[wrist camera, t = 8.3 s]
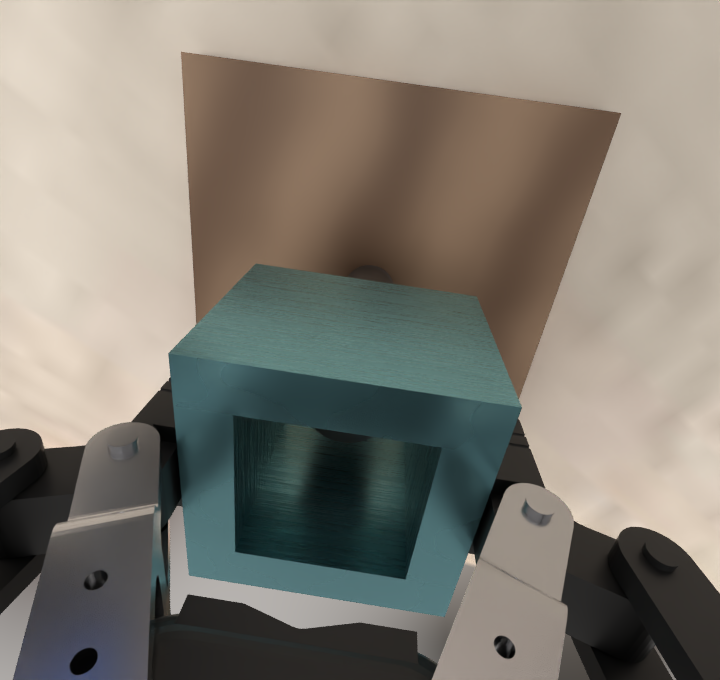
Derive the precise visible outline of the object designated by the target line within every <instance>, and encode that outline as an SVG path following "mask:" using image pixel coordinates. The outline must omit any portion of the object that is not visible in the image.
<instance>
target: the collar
mask: <svg viewBox="0 0 720 680" xmlns="http://www.w3.org/2000/svg"><path fill="white" fill-rule="evenodd" d="M168 354H169V365H170V376H171V386H172V397H173V408H174V419H175V430H176V440H177V451H178V462H179V473H180V483H181V494H182V505H183V516H184V526H185V536H186V548H187V559H188V569H189V575H190V576H196V577H203V578H209V579H215V580H221V581H227V582H233V583H240V584H246V585H251V586H258V587H264V588H271V589H277V590H282V591H289V592H295V593H301V594H307V595H314V596H320V597H326V598H332V599H338V600H344V601H350V602H356V603H363V604H370V605H375V606H381V607H388V608H394V609H400V610H406V611H412V612H418V613H424V614H430V615H437V616H443V617H445V614H446V612H447V609H448V606H449V603H450V601H451V598H452V595H453V593H454V590H455V587H456V584H457V582H458V579H459V576H460V574H461V571H462V568H463V566H464V563H465V560H466V558H467V555H468V552H469V549H470V547H471V544H472V541H473V539H474V536H475V533H476V530H477V528H478V525H479V522H480V520H481V517H482V514H483V512H484V509H485V506H486V503H487V501H488V498H489V495H490V493H491V490H492V487H493V484H494V482H495V479H496V476H497V474H498V471H499V468H500V465H501V463H502V460H503V457H504V455H505V452H506V449H507V447H508V444H509V441H510V438H511V436H512V433H513V430H514V428H515V425H516V422H517V419H518V417H519V414H520V411H521V409H522V407H521V404H520V402H519V399H518V397H517V394H516V392H515V389H514V387H513V384H512V382H511V380H510V377H509V375H508V372H507V370H506V367H505V365H504V362H503V360H502V357H501V355H500V352H499V350H498V347H497V345H496V343H495V340H494V338H493V335H492V333H491V330H490V328H489V325H488V323H487V320H486V318H485V315H484V313H483V311H482V308H481V306H480V303H479V301H478V298H477V296H472V295H465V294H458V293H452V292H445V291H438V290H431V289H425V288H418V287H411V286H405V285H398V284H391V283H384V282H378V281H371V280H364V279H357V278H351V277H344V276H337V275H331V274H324V273H317V272H310V271H304V270H297V269H290V268H284V267H277V266H270V265H263V264H257V263H256V264H255V265H254V266H253V267H252V268H251V269H250V270H249V271H248V272H247V273H246V274H245V275H244V276H243V277H242V278H241V279H240V280H239V281H238V282H237V283H236V284H235V285H234V286H233V287H232V289H231V290H230V291H229V292H228V293H227V294H226V295H225V296H224V297H223V298H222V299H221V300H220V301H219V302H218V303H217V304H216V305H215V306H214V307H213V308H212V309H211V310H210V311H209V312H208V313H207V314H206V315H205V316H204V317H203V318H202V319H201V320H200V321H199V323H198V324H197V325H196V326H195V327H194V328H193V329H192V330H191V331H190V332H189V333H188V334H187V335H186V336H185V337H184V338H183V339H182V340H181V341H180V342H179V343H178V344H177V345H176V346H175V347H174V348H173V349H172V350H171V351H170V352H169V353H168ZM314 428H319V429H325V430H332V431H338V432H345V433H351V434H357V435H364V436H370V437H372V438H370V439H368V440H365V441H362V442H357V443H343V442H337V441H334V440H331V439H329V438H327V437H325V436H323V435H322V434H320V433H319V432H318V431H316V430H315V429H314Z"/></svg>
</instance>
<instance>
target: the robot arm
mask: <svg viewBox="0 0 720 680" xmlns="http://www.w3.org/2000/svg"><path fill="white" fill-rule="evenodd" d="M524 435H525V434H524V431H523V429H522V426H521V423H520V421H519V419H517V422H516V425H515V428H514V430H513V433H512V436H511V438H510V441H509V444H508V447H507V449H506V452H505V455H504V457H503V460H502V463H501V465H500V468H499V471H498V474H497V476H496V479H495V482H494V484H493V487H492V490H491V493H490V495H489V498H488V501H487V503H486V506H485V509H484V512H483V514H482V517H481V520H480V522H479V525H478V528H477V530H476V533H475V536H474V539H473V541H472V544H471V547H470V549H469V552H468V553H470V554H475V560H476V567H475V570H474V572H473V575H472V578H471V580H470V583H469V585H468V588H467V590H466V593H465V596H464V598H463V601H462V603H461V606H460V609H459V611H458V614H457V616H456V619H455V621H454V624H453V627H452V629H451V632H450V634H449V637H448V639H447V642H446V645H445V647H444V650H443V652H442V655H441V657H440V660H439V662H438V664H437V663H435V662H434V661H432V660H431V659H429V658H427V657H426V656H424V655H422V654H420V653H418V652H417V632H414V631H409V630H402V629H396V628H390V627H384V626H378V625H371V624H365V623H353V624H344V625H335V626H326V627H317V628H308V629H298V628H295V627H292V626H290V625H288V624H286V623H284V622H282V621H279V620H277V619H275V618H273V617H271V616H269V615H267V614H265V613H263V612H261V611H258V610H256V609H254V608H252V607H250V606H248V605H246V604H243V603H237V602H231V601H225V600H218V599H213V598H207V597H201V596H194V595H187V598H186V600H185V602H184V604H183V607H182V609H181V611H180V613H179V614H174V615H171V612H170V611H171V610H170V522H169V518H170V517H171V515H172V513H173V512H174V510H175V508H176V506H183V505H182V494H181V483H180V473H179V462H178V451H177V440H176V430H175V419H174V408H173V397H172V386H171V377H170V378H169V381H167V382H166V383H165V384H164V385H163V386H162V387H161V390H160V391H158V392H157V393H156V394H155V395H154V397H153V398H152V399H151V400H150V401H149V402H148V403H147V405H146V406H145V407H144V408H143V409H142V410H141V411H140V413H139V414H138V415H137V416H136V417H135V418H134V419H133V420H132V422H128V423H121V424H117V425H113V426H110V427H108V428H105V429H103V430H101V431H100V432H98V433H97V434H95V435H94V436H93V437H92V438H91V439H90V440H89V441H88V443H87V444H86V445H85V446H76V447H62V448H49V449H44V446H43V442H42V439H41V437H40V435H39V434H37V433H36V432H34V431H32V430H28V429H20V428H16V429H5V430H0V614H1V613H2V612H3V611H4V610H5V609H6V608H7V607H8V606H9V605H10V604H11V603H12V602H13V601H14V599H16V598H17V596H19V594H20V593H21V592H22V591H23V590H24V589H25V588H26V587H27V586H28V585H29V584H30V583H31V582H32V581H33V580H34V579H35V578H36V577H37V576H38V575H39V574H40V573H41V575H40V579H39V582H38V586H37V590H36V594H35V598H34V602H33V605H32V609H31V613H30V617H29V621H28V625H27V628H26V632H25V636H24V639H23V643H22V647H21V651H20V655H19V658H18V662H17V666H16V670H15V674H14V678H13V680H558V675H559V669H560V662H561V655H562V649H563V642H564V636H565V633H566V634H568V635H570V636H571V638H572V640H573V643H574V645H575V647H576V649H577V652H578V654H579V656H580V658H581V661H582V663H583V665H584V667H585V670H586V672H587V674H588V676H589V678H590V680H673V679H672V677H671V676H670V674H669V672H668V671H667V669H666V667H665V666H664V664H663V662H662V661H661V659H660V657H659V655H658V654H657V652H656V650H655V649H654V646H655V645H656V646H657V648H658V650H659V652H660V653H661V655H662V657H663V658H664V660H665V662H666V663H667V665H668V667H669V668H670V670H671V672H672V673H673V675H674V677H675V678H676V680H720V594H719V592H718V591H717V590H716V589H715V587H714V586H713V585H712V584H711V582H710V581H709V580H708V578H707V577H706V576H705V575H704V573H703V572H702V571H701V570H700V568H699V567H698V566H697V565H696V563H695V562H694V561H693V560H692V558H691V557H690V556H689V555H688V554H687V553H686V552H685V551H684V550H683V549H682V548H681V547H680V546H678V545H677V544H676V543H675V542H673V541H672V540H670V539H669V538H667V537H665V536H663V535H662V534H659V533H657V532H655V531H652V530H650V529H646V528H642V527H629V528H626V529H624V530H623V531H622V532H621V533H620V534H619V536H618V538H617V539H614V538H611V537H609V536H606V535H604V534H602V533H599V532H597V531H594V530H592V529H589V528H587V527H585V526H583V525H580V524H578V523H577V522H575V521H574V519H573V516H572V513H571V511H570V510H569V508H568V507H567V505H566V504H565V503H564V502H563V501H562V500H561V499H560V498H559V497H558V496H556V495H555V494H554V493H552V492H550V491H549V490H547V489H545V486H544V484H543V481H542V478H541V476H540V473H539V471H538V468H537V465H536V463H535V460H534V457H533V455H532V452H531V450H530V449H529V444H528V442H527V439H526V437H524Z"/></svg>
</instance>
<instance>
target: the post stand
mask: <svg viewBox="0 0 720 680" xmlns="http://www.w3.org/2000/svg"><path fill="white" fill-rule="evenodd" d="M181 59H182V76H183V94H184V112H185V129H186V147H187V164H188V182H189V200H190V217H191V235H192V253H193V270H194V288H195V305H196V323H197V324H198V323H199V321H200V320H201V319H202V318H203V317H204V316H205V315H206V314H207V313H208V312H209V311H210V310H211V309H212V308H213V307H214V306H215V305H216V304H217V303H218V302H219V301H220V300H221V299H222V298H223V297H224V296H225V295H226V294H227V293H228V292H229V291H230V290H231V289H232V287H233V286H234V285H235V284H236V283H237V282H238V281H239V280H240V279H241V278H242V277H243V276H244V275H245V274H246V273H247V272H248V271H249V270H250V269H251V268H252V267H253V266H254V265H255V264H256V263H257V264H263V265H270V266H277V267H284V268H290V269H297V270H304V271H310V272H317V273H324V274H331V275H337V276H344V277H351V278H357V279H364V280H371V281H378V282H384V283H391V284H398V285H405V286H411V287H418V288H425V289H431V290H438V291H445V292H452V293H458V294H465V295H472V296H477V298H478V301H479V303H480V306H481V308H482V311H483V313H484V315H485V318H486V320H487V323H488V325H489V328H490V330H491V333H492V335H493V338H494V340H495V343H496V345H497V347H498V350H499V352H500V355H501V357H502V360H503V362H504V365H505V367H506V370H507V372H508V375H509V377H510V380H511V382H512V384H513V387H514V389H515V392H516V394H517V397H518V399H519V397H520V394H521V391H522V388H523V386H524V383H525V380H526V377H527V374H528V372H529V369H530V366H531V363H532V360H533V358H534V355H535V352H536V349H537V347H538V344H539V341H540V338H541V335H542V333H543V330H544V327H545V324H546V321H547V319H548V316H549V313H550V310H551V307H552V305H553V302H554V299H555V296H556V294H557V291H558V288H559V285H560V282H561V280H562V277H563V274H564V271H565V268H566V266H567V263H568V260H569V257H570V255H571V252H572V249H573V246H574V243H575V241H576V238H577V235H578V232H579V229H580V227H581V224H582V221H583V218H584V216H585V213H586V210H587V207H588V204H589V202H590V199H591V196H592V193H593V190H594V188H595V185H596V182H597V179H598V177H599V174H600V171H601V168H602V165H603V163H604V160H605V157H606V154H607V151H608V149H609V146H610V143H611V140H612V138H613V135H614V132H615V129H616V126H617V124H618V121H619V118H620V115H621V113H616V112H609V111H602V110H595V109H587V108H580V107H573V106H566V105H559V104H551V103H544V102H537V101H530V100H523V99H516V98H508V97H501V96H494V95H487V94H480V93H472V92H465V91H458V90H451V89H444V88H437V87H429V86H422V85H415V84H408V83H401V82H393V81H386V80H379V79H372V78H365V77H358V76H350V75H343V74H336V73H329V72H322V71H314V70H307V69H300V68H293V67H286V66H279V65H271V64H264V63H257V62H250V61H243V60H235V59H228V58H221V57H214V56H207V55H199V54H192V53H185V52H181ZM314 429H315V430H316V431H318V432H319V433H320V434H322V435H323V436H325V437H327V438H329V439H331V440H334V441H337V442H343V443H357V442H362V441H365V440H368V439H370V438H372V437H370V436H364V435H357V434H351V433H345V432H338V431H332V430H325V429H319V428H314Z"/></svg>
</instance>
